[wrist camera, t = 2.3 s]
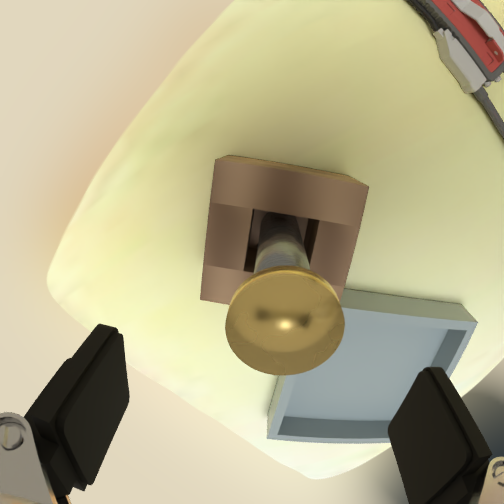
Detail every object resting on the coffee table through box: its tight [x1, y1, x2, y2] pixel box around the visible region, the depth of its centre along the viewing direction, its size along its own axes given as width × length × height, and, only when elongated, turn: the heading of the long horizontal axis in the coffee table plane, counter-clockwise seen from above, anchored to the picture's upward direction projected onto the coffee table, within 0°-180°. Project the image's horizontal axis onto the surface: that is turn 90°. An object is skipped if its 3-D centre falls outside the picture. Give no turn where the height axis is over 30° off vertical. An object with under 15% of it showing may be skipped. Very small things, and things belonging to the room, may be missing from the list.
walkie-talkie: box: [408, 0, 504, 139], centre depth 18 cm, size 9×4×20 cm
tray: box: [267, 288, 478, 443], centre depth 30 cm, size 18×18×4 cm
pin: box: [225, 211, 345, 375], centre depth 19 cm, size 5×5×15 cm
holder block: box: [200, 155, 369, 305], centre depth 24 cm, size 10×10×6 cm
